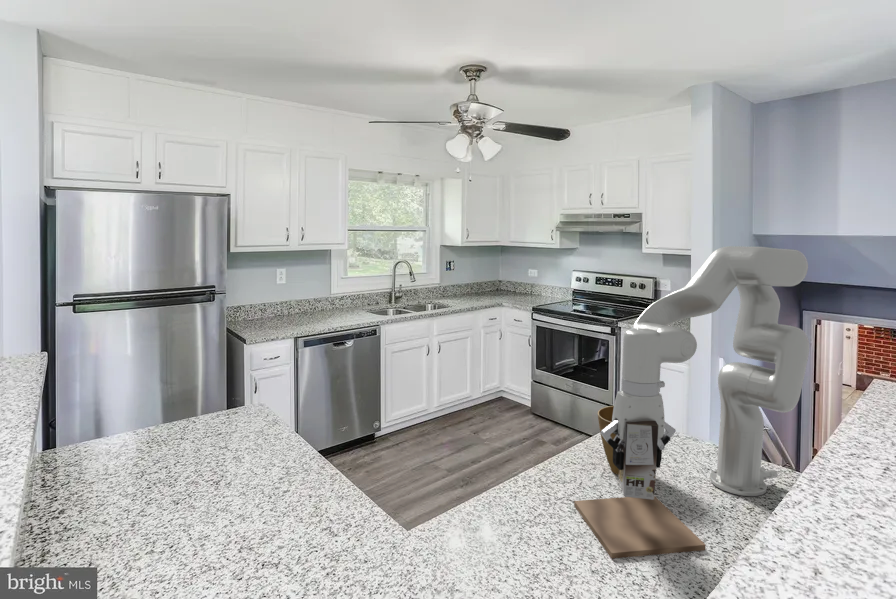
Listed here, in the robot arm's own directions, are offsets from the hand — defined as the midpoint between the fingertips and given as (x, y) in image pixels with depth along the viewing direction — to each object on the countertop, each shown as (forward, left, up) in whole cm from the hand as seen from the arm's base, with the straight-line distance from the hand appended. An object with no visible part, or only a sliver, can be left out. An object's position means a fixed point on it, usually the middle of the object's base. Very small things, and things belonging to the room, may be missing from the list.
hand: (636, 465), depth 109 cm
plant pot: (-10, -25, -14) cm, 31 cm away
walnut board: (0, 0, -14) cm, 14 cm away
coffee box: (0, 0, -5) cm, 5 cm away
